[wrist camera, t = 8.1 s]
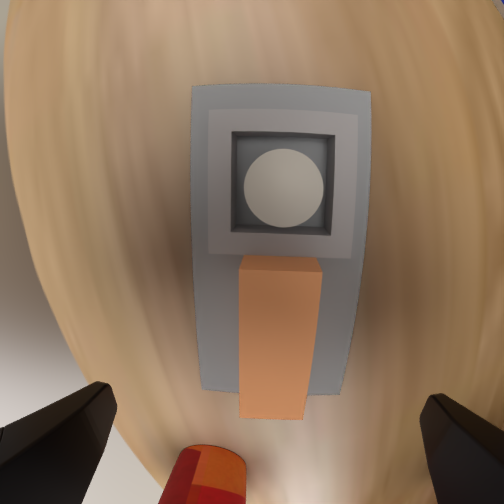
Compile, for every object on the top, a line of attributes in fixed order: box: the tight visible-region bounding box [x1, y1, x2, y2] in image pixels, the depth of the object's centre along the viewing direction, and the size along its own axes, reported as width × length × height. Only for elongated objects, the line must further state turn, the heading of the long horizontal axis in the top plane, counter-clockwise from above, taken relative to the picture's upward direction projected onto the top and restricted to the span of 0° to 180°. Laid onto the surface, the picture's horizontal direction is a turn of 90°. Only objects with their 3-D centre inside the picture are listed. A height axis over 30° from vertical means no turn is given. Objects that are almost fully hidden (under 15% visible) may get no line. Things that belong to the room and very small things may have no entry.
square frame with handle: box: [208, 109, 358, 420], centre depth 14 cm, size 14×6×4 cm, turn 179°
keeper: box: [190, 84, 371, 395], centre depth 14 cm, size 9×18×6 cm, turn 179°
